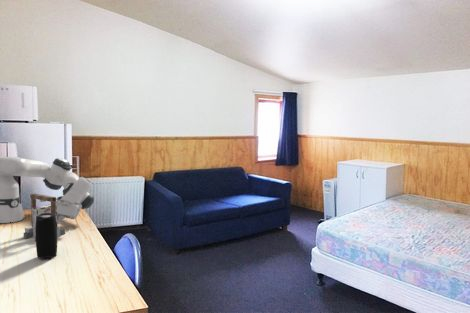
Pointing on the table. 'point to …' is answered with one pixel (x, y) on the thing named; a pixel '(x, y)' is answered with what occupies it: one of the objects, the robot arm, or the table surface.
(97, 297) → the table surface
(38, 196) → the aperture gantry
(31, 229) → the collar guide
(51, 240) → the portable speaker
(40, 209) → the candy bar box
